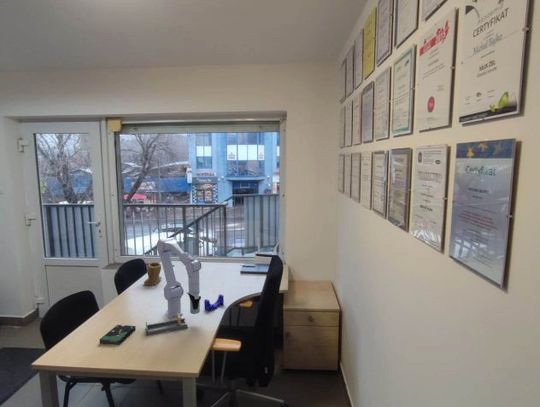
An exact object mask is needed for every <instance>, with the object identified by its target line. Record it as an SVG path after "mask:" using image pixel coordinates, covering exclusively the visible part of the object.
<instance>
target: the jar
mask: <svg viewBox="0 0 540 407" xmlns="http://www.w3.org/2000/svg"><path fill="white" fill-rule="evenodd" d="M200 301H201V300H200ZM200 301H199V305H198V309H196V310H194V309H193V305H192V301H191V299H190V298H189V313H190V314H192V315H197V314H200V312H201V309H200V308H201V307H200V305H201V304H200V303H201V302H200Z"/></svg>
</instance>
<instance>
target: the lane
mask: <svg viewBox="0 0 540 407" xmlns="http://www.w3.org/2000/svg"><path fill="white" fill-rule="evenodd" d="M188 328H189V326H188V323H187V321H186V318H185V317H184V318H181V325H178V323H177V319H173V320H172V319H171V320H167V321H161V322H156V323H150V324H148V322H147V321H146V322H145V328H144V329H145V330H144V331H145V336H146V337H147V336H154V335H157V334H164V333H169V332H174V331H179V330H184V329H188Z"/></svg>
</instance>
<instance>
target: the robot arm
mask: <svg viewBox="0 0 540 407" xmlns="http://www.w3.org/2000/svg"><path fill="white" fill-rule="evenodd" d="M155 246H156V249H157V253H158V255H159V257H160V261H161V267H162V269H163V273H164V277H165V280H166V285H165V286H164V287H163V297H164V299H165V300H166V301H167V309H166V315H167V317H168V318H175V317H177V313H179V314H180V316H182V315H183V312H182V304H181V303H182V302H181V299H182V297H183V296H184V292H185V291H184V288H183V286H182V284H181V282H179V281H177V279H176V275H175V271H174V266H173V263H172V259H171V255H170V254H171V253H172V252H173V253H174V254H175V255H177V256H178V259H179V261H180V262H181V263H182V264H183V265H184V266H185V270H186V274H187V278H188V280H187V281H188V282H187V283H188V290H186V292H185V293H186V294H187V295H188V297H189V300H190V299H191V301H192V305H193V309H194V310H196V309H198V305H199V301H201V299H202V296H199V295H200V294H201V293H200V291H201V290H200V270H201V269H202V262H201V261H200V260H199V259H196V258H194V257H193V256H192V255H190V253H189V252H187V251H185V252H184V250H183V249H182V248H181V247H180V245H179V244H178V241H177V239H176V238H175V237H172V236H171V237H169V238H164V239H158V240H157V242H156V245H155Z"/></svg>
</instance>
